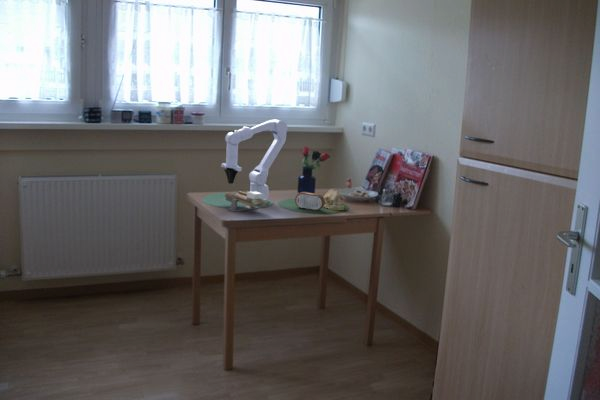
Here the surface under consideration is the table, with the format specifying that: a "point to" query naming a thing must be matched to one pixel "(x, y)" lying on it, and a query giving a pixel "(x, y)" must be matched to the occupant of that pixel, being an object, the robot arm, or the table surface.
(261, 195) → the block
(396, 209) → the table surface
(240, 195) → the tan wooden tray
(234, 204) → the stand
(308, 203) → the tin
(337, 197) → the ceramic model
